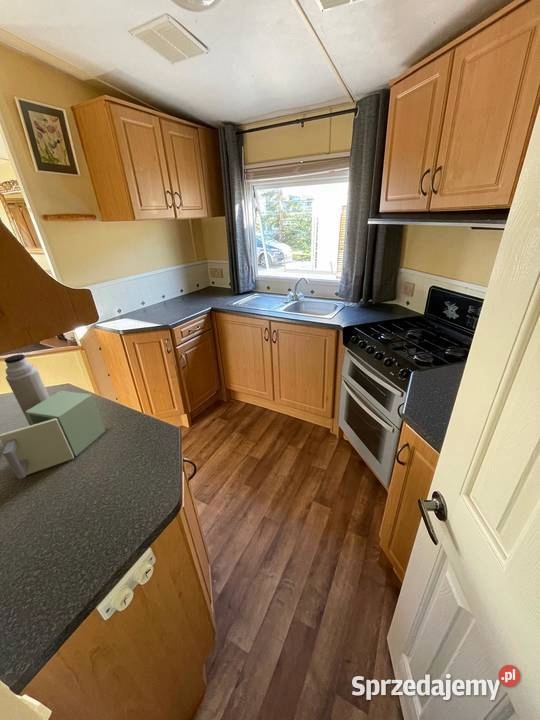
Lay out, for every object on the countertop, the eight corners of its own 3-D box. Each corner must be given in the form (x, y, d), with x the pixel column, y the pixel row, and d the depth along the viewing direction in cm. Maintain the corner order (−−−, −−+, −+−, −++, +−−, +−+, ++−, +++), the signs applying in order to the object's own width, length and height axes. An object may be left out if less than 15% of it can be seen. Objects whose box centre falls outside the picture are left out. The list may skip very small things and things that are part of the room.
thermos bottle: (29, 433, 100) (-9, 360, 88) (53, 419, 107) (21, 350, 94) (42, 439, 97) (5, 364, 85) (66, 425, 103) (35, 353, 91)
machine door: (73, 471, 83) (54, 431, 77) (17, 491, 77) (-8, 450, 71) (74, 456, 88) (56, 417, 82) (22, 474, 83) (-1, 434, 77)
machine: (76, 456, 89) (58, 416, 82) (44, 449, 92) (24, 411, 86) (105, 431, 99) (91, 394, 93) (75, 426, 102) (60, 390, 96)
